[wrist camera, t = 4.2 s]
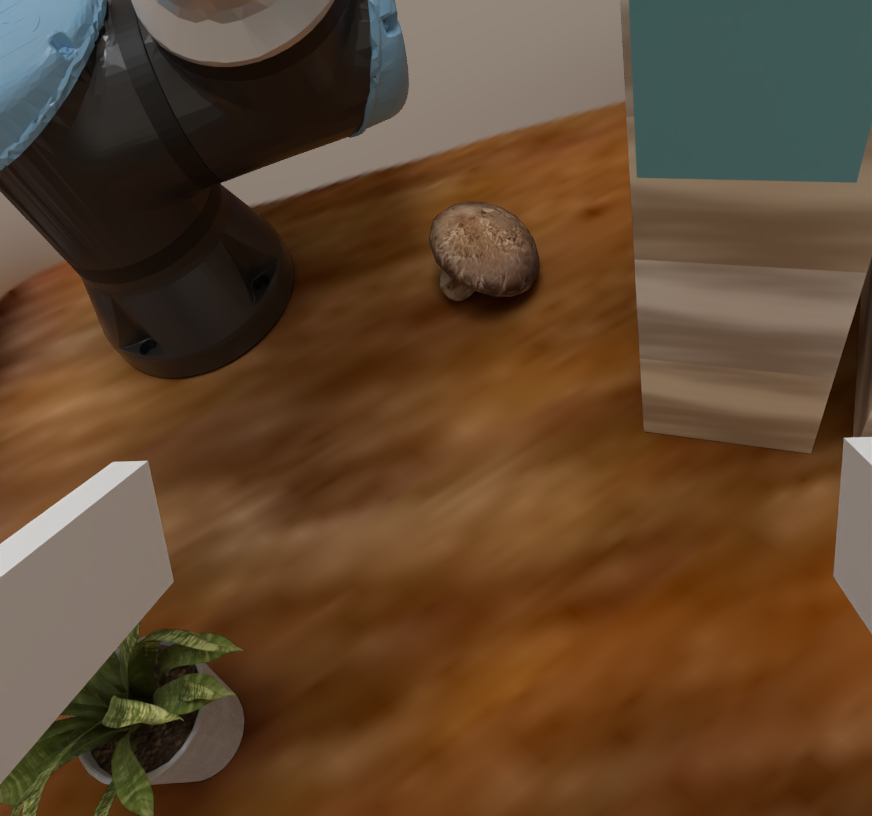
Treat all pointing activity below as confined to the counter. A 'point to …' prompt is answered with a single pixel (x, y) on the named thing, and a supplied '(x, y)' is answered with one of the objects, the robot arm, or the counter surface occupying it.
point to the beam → (751, 88)
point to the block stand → (748, 299)
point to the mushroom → (483, 251)
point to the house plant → (140, 723)
